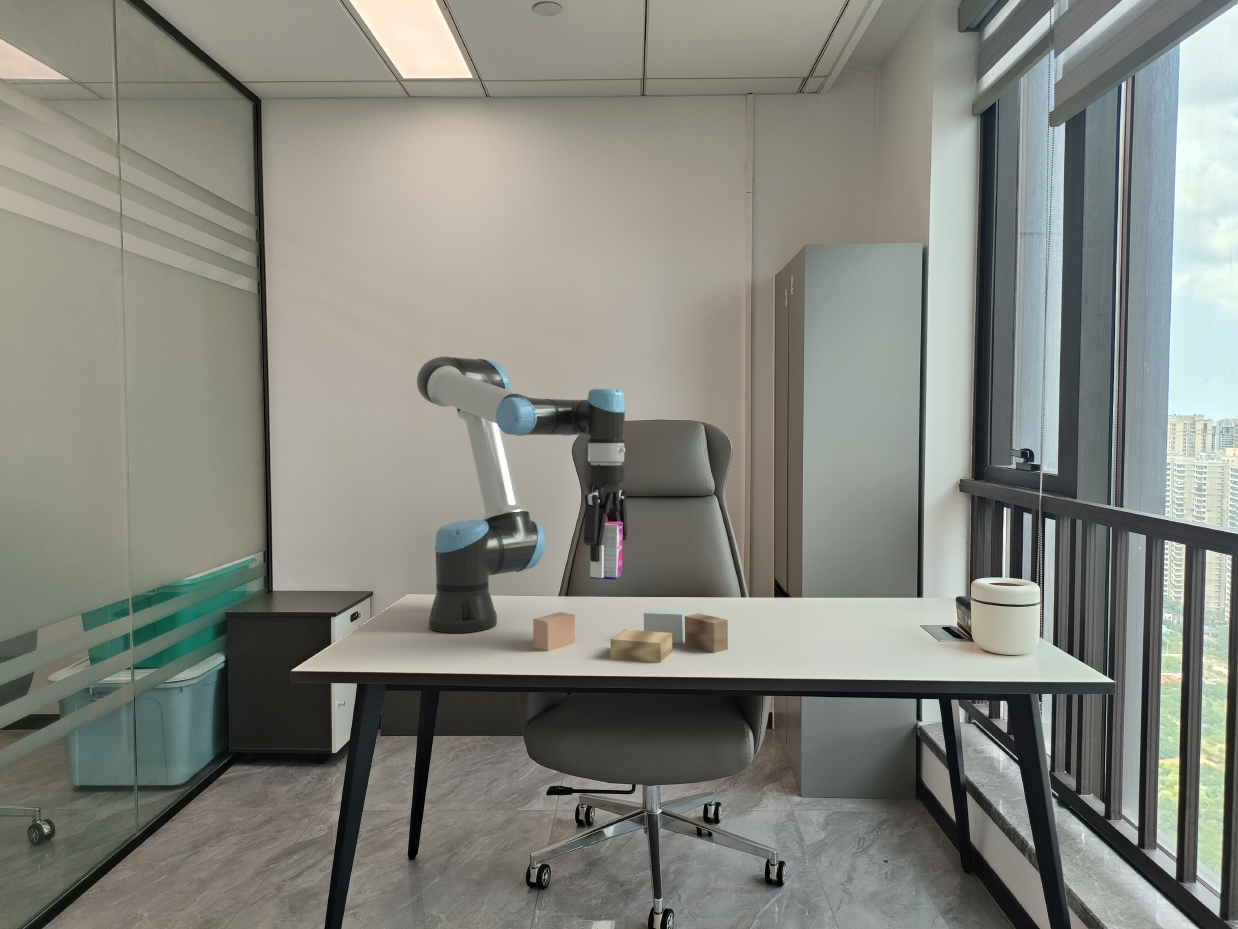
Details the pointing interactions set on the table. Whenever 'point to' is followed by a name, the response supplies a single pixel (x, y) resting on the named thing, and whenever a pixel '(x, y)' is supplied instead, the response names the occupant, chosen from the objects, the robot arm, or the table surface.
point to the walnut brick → (706, 632)
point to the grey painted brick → (666, 622)
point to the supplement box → (612, 550)
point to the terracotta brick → (553, 631)
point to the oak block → (641, 645)
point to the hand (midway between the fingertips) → (606, 574)
